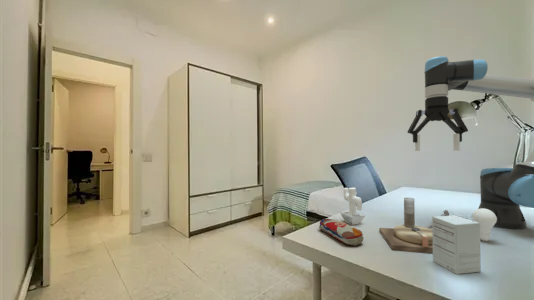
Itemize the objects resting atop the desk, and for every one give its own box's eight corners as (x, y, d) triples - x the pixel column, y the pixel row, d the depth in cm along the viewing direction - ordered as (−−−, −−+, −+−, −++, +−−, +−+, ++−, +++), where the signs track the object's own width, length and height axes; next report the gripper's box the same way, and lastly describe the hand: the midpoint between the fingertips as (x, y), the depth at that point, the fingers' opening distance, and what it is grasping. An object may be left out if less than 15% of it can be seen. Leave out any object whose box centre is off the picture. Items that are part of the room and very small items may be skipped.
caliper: (446, 224, 98) (446, 209, 98) (449, 225, 97) (449, 209, 97) (419, 233, 88) (419, 216, 88) (422, 234, 87) (422, 217, 87)
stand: (435, 235, 85) (435, 231, 85) (463, 255, 69) (463, 250, 69) (379, 231, 90) (379, 227, 90) (392, 250, 73) (392, 245, 73)
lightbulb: (473, 236, 84) (473, 205, 84) (497, 240, 80) (497, 208, 80) (471, 240, 80) (471, 208, 80) (496, 246, 75) (496, 211, 75)
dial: (449, 245, 72) (448, 206, 72) (404, 243, 74) (403, 205, 74) (425, 230, 85) (425, 197, 85) (388, 229, 86) (387, 197, 86)
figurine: (353, 227, 95) (353, 190, 95) (338, 220, 104) (338, 186, 104) (367, 224, 98) (367, 188, 98) (351, 218, 107) (351, 185, 107)
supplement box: (454, 259, 67) (454, 214, 67) (481, 272, 59) (481, 222, 59) (431, 260, 66) (431, 215, 66) (456, 274, 58) (455, 224, 58)
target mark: (426, 245, 72) (426, 236, 72) (428, 247, 71) (428, 237, 71) (422, 245, 73) (422, 235, 73) (423, 247, 72) (423, 237, 72)
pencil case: (333, 248, 75) (333, 233, 75) (316, 228, 94) (316, 216, 94) (367, 247, 76) (367, 232, 76) (343, 227, 95) (343, 215, 95)
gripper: (467, 97, 94) (467, 150, 94) (398, 101, 100) (399, 150, 100) (479, 93, 87) (479, 150, 87) (405, 97, 93) (405, 150, 93)
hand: (436, 150), depth 94 cm, fingers open, 13 cm apart
